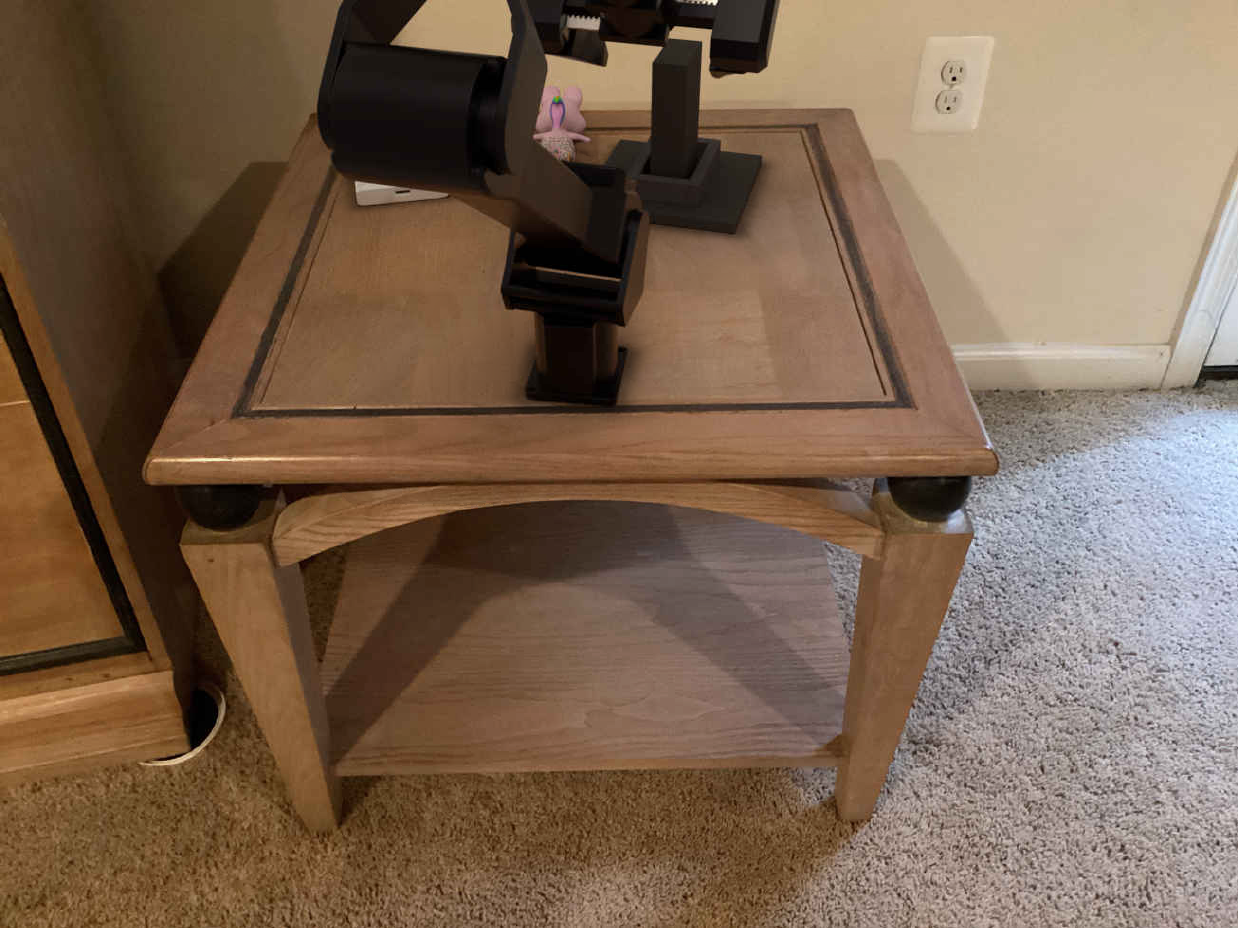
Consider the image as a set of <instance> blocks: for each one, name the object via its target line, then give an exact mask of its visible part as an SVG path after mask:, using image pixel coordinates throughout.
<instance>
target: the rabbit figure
mask: <svg viewBox="0 0 1238 928" xmlns="http://www.w3.org/2000/svg"><path fill="white" fill-rule="evenodd" d="M583 100H584V99H583V92H582V89H581V88H580V87H579V86H577V85H571V86H569V87H566V89H565V90H564V93H563V96H561V90H560V88H559V86H556V85H548V86H545V87H544V91H543V95H542V100H541V104H540V105H541V110H540V112H539V114H538V118H537V123H536V127H535V131H537V134H536V133H535V134H534V138H535V139H536V140H537V141H540V142H539V143H540V144H542V145H543V146H544V147H545V148H546V149H547V150H548V151H549V152H551V153H552V154H553V155H554V156H555V157H556V158H557V159H559V160H563V161H571V162H576V157H577V154H576V147H575V145H574V141H582V142H583V143H585V144H590V143H591V138H590V137H588V136H585V135H583V134H582V133H583V132H584V131H585V129H586V128H587V122H586V120H585V118H584V117H583V115H582V113H581V111H580V108H581V106H582V104H583Z"/></svg>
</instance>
